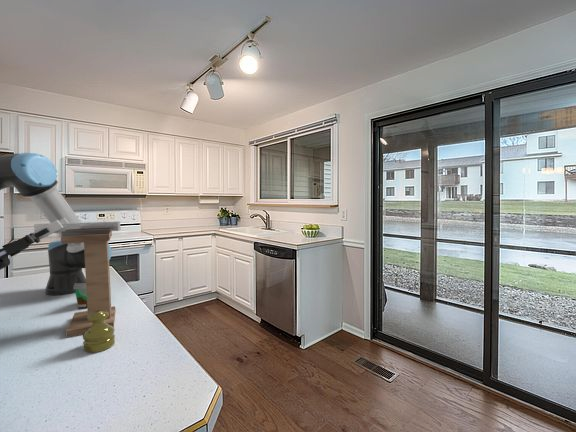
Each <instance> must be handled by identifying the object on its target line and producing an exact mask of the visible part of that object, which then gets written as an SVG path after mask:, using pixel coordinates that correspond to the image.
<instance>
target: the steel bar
mask: <svg viewBox="0 0 576 432" xmlns="http://www.w3.org/2000/svg"><path fill="white" fill-rule="evenodd" d="M48 224H50V222H49V223H35V224H34V225H33V228H34V229H33V232H35V231H37V230H38V229H40V228H42V227H44V226H46V225H48ZM60 224H61V225H62V226H63V228H61V229H59V230H57V231H55V232H53V233H52V234H59V233H61V232H62V231H65V230H66V229H85V228H105V227H110V231H112V232H115V231H116V232H117V231H121V221H120V220H119V221H93V222H91V221H87V222H85V221H84V222H83V221H81V223H60Z"/></svg>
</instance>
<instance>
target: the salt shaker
mask: <svg viewBox="0 0 576 432" xmlns="http://www.w3.org/2000/svg"><path fill="white" fill-rule="evenodd" d="M108 315H109V313H108V312H105V311H101V310H98V311H95V312H94V313H92V314H90V315H89V316H88V317H87V319H88V320H89V321H91V322H92V323H93V324H92V326H91V327H90V328H89V329H88V330H87V331H85V332H84V334H83V335H82V339H83V342H82V344H83V352H84V353H89V354H91V353H92V354H93V353H99V352H103V351H105V350H108V349H111V347H113V345H115V343H116V335H115V334H114V333H115V326H114V327H113V326H111V325H108V324H106V323H105V322H104V320H105V318H106V317H107V316H108Z"/></svg>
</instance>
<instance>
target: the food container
mask: <svg viewBox="0 0 576 432" xmlns="http://www.w3.org/2000/svg"><path fill="white" fill-rule="evenodd" d="M73 289H75V292H74V293H75V296H76V302H77V303H76V304H77V309H78V310H85V309H87V291H86V282H84V283H74V288H73Z"/></svg>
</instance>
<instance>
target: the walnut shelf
mask: <svg viewBox="0 0 576 432" xmlns="http://www.w3.org/2000/svg"><path fill="white" fill-rule="evenodd" d="M61 233H62V237H61V236H60V240H61V244H69V243H84V255H85V268H84V272H85V273H84V274H85V278H86V291H87V308H86V309H87V310H83V311H78V312H74V314H73V316H72V318H71V320H70V322H69V324H68V326H67V329H66V330H65V332H66V339H67V338H72V337H78V336H83V334H84V332H85V331H87V330H88V329H89V328H90V327H91V326H92V324H93V323H92V322H91V321H89V320H88V319H87V317H88V316H89V315H90V314H92V313H94V312H95V311H98V310H101V311H105V312H108V313H109V315H108V316H107V317H106V318H105V320H104V322H105V323H106V324H108V325H111V326H113V327H114V328H115V319H116V306H112V293H111V276H110V275H111V274H110V273H111V270H110V260H109V249H108V244H109V241H111V238H112V234H113V231H110V227H105V228H85V229H66V230H65V231H62V232H61Z"/></svg>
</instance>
